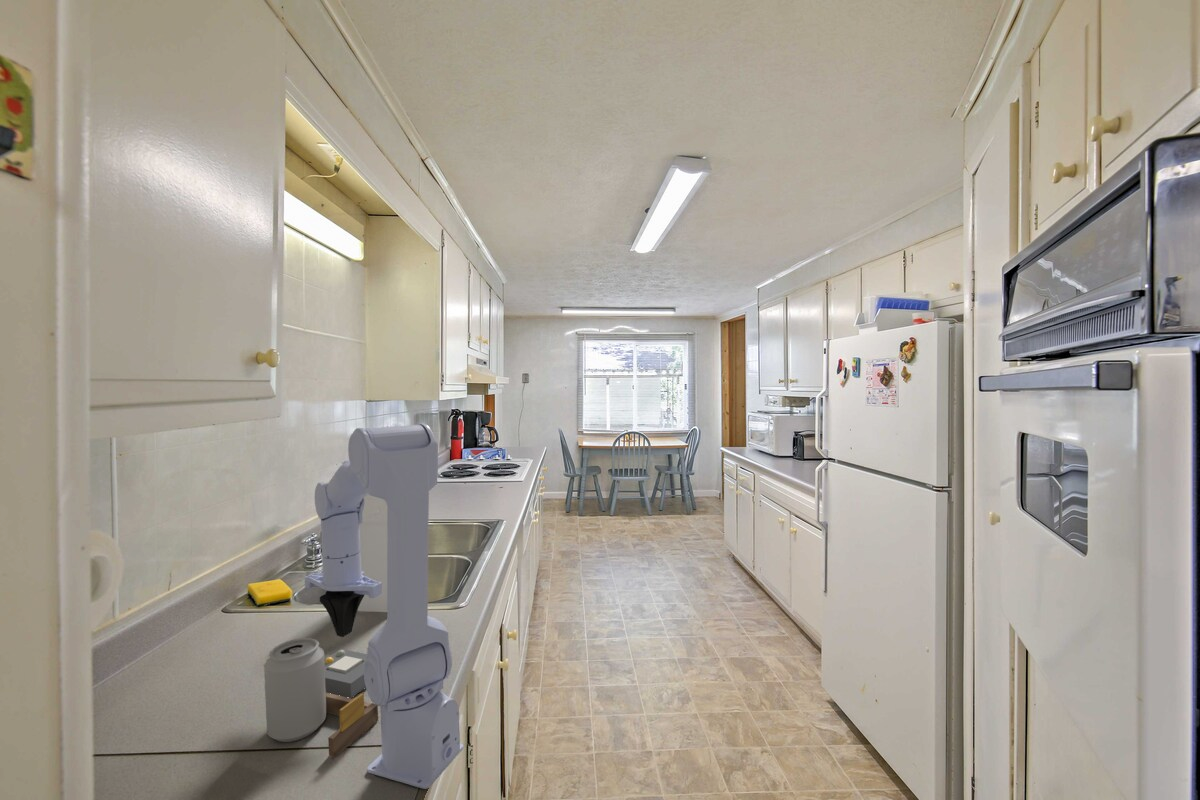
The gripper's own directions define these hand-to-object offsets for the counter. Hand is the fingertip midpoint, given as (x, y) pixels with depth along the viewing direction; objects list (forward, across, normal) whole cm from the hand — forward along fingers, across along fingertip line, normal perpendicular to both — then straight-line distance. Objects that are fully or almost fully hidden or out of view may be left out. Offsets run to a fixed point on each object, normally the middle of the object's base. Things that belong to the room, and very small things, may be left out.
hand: (344, 633), depth 90 cm
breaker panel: (+8, 0, 0) cm, 8 cm away
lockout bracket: (+8, -8, +11) cm, 16 cm away
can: (+8, -3, +12) cm, 15 cm away
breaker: (+7, 0, 0) cm, 7 cm away
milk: (+8, +17, -28) cm, 34 cm away
